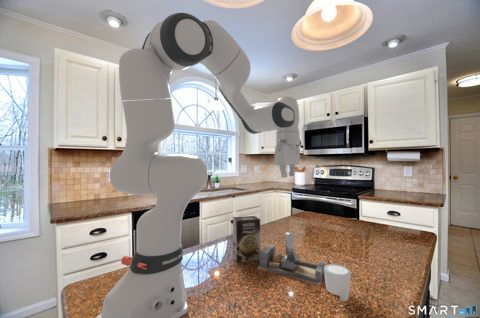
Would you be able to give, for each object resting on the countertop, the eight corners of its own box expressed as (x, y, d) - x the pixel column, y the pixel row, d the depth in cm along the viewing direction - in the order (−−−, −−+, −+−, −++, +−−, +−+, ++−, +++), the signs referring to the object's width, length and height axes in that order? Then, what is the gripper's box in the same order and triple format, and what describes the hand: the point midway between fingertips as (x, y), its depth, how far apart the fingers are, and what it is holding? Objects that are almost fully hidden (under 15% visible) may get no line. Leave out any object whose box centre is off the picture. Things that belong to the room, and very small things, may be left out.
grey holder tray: (319, 290, 63) (319, 267, 63) (256, 273, 73) (256, 253, 73) (325, 273, 72) (325, 253, 72) (269, 260, 82) (269, 242, 82)
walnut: (281, 269, 72) (281, 257, 72) (270, 266, 74) (270, 254, 74) (285, 264, 75) (285, 252, 76) (274, 261, 77) (274, 250, 78)
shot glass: (343, 287, 64) (343, 263, 64) (356, 302, 57) (356, 275, 57) (320, 288, 64) (319, 263, 64) (330, 303, 57) (330, 276, 57)
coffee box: (236, 267, 77) (236, 220, 77) (232, 259, 83) (232, 216, 83) (261, 263, 79) (260, 219, 80) (255, 256, 86) (254, 215, 86)
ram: (293, 274, 69) (292, 237, 69) (281, 271, 71) (280, 235, 71) (299, 265, 75) (298, 231, 75) (287, 262, 77) (287, 229, 77)
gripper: (287, 137, 74) (287, 178, 74) (302, 142, 92) (302, 175, 91) (269, 138, 77) (270, 178, 77) (287, 143, 95) (287, 175, 94)
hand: (288, 176), depth 84 cm, fingers open, 8 cm apart
